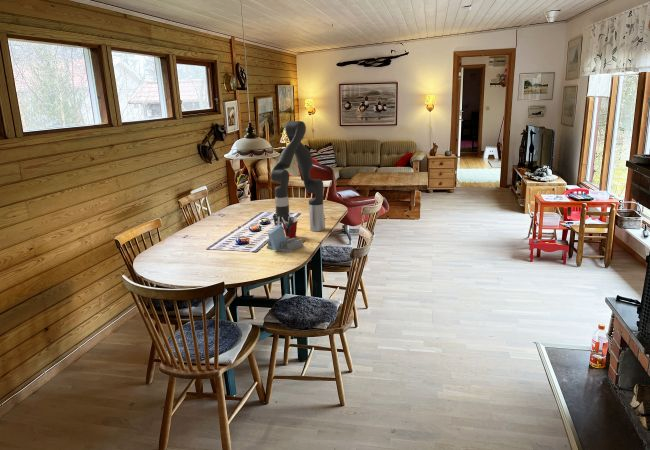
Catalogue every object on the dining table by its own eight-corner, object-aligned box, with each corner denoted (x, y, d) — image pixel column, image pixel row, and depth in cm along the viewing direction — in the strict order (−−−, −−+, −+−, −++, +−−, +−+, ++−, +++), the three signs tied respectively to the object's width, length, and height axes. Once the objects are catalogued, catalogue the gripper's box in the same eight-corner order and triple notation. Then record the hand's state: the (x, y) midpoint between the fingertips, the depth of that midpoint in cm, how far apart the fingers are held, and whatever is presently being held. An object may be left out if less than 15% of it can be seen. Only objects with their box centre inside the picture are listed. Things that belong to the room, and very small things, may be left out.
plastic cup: (284, 240, 287) (282, 221, 284) (280, 236, 298) (279, 217, 295) (301, 238, 290) (300, 219, 287) (297, 234, 300) (296, 216, 297)
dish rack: (282, 242, 285) (282, 235, 284) (303, 245, 276) (303, 238, 275) (266, 248, 274) (266, 241, 273) (287, 252, 265) (287, 244, 264)
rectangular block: (283, 240, 275) (278, 224, 270) (286, 241, 273) (282, 225, 268) (272, 249, 268) (267, 233, 263) (276, 250, 267) (270, 233, 262)
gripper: (296, 204, 267) (298, 233, 271) (277, 202, 276) (279, 230, 280) (287, 207, 261) (289, 236, 266) (268, 204, 270) (270, 233, 274)
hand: (284, 233), depth 273 cm, fingers open, 5 cm apart
